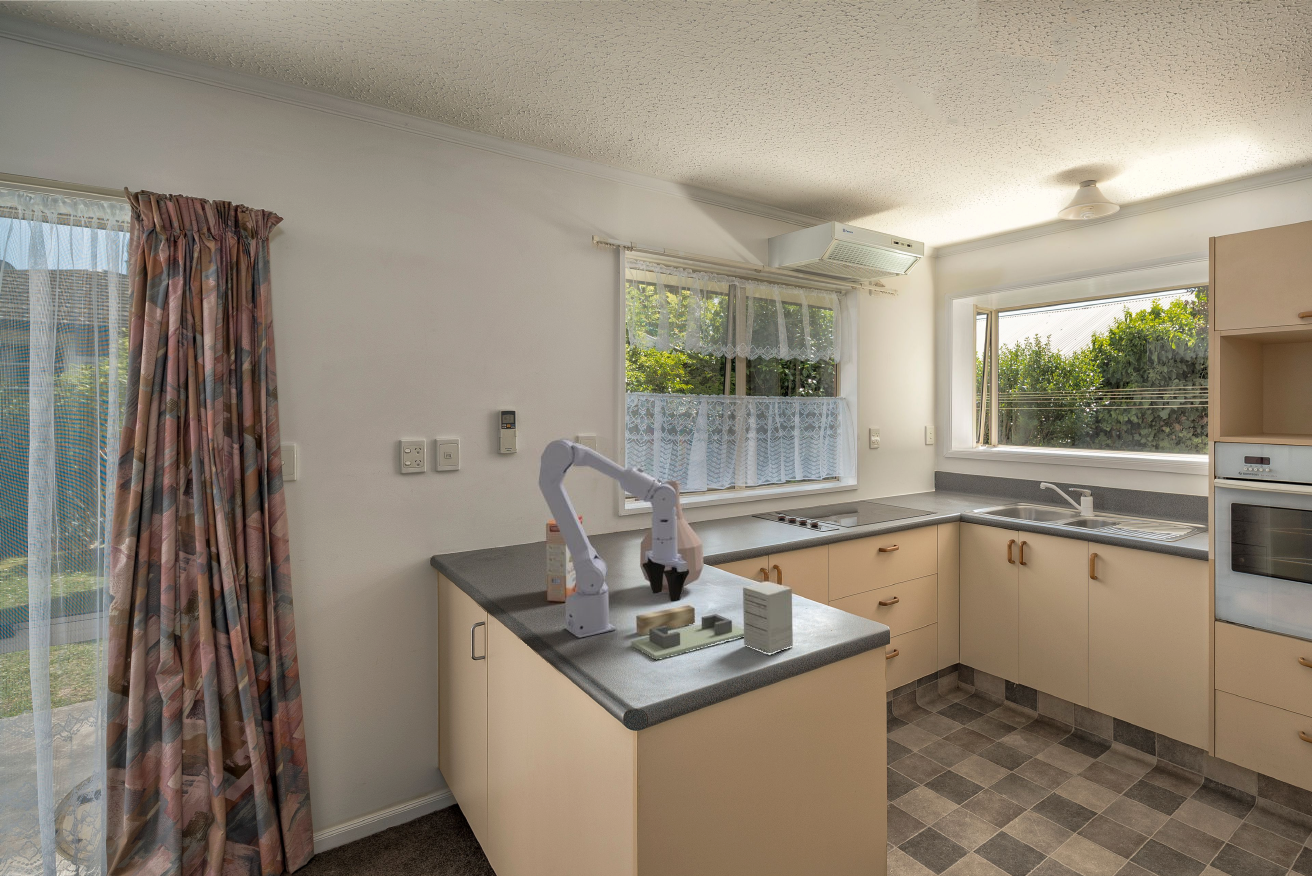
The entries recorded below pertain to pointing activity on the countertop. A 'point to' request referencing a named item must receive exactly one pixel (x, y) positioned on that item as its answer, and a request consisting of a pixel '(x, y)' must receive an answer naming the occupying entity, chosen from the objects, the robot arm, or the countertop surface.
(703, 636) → the board
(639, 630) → the slat
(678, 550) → the vase
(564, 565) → the cracker box
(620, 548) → the countertop surface
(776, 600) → the supplement box
